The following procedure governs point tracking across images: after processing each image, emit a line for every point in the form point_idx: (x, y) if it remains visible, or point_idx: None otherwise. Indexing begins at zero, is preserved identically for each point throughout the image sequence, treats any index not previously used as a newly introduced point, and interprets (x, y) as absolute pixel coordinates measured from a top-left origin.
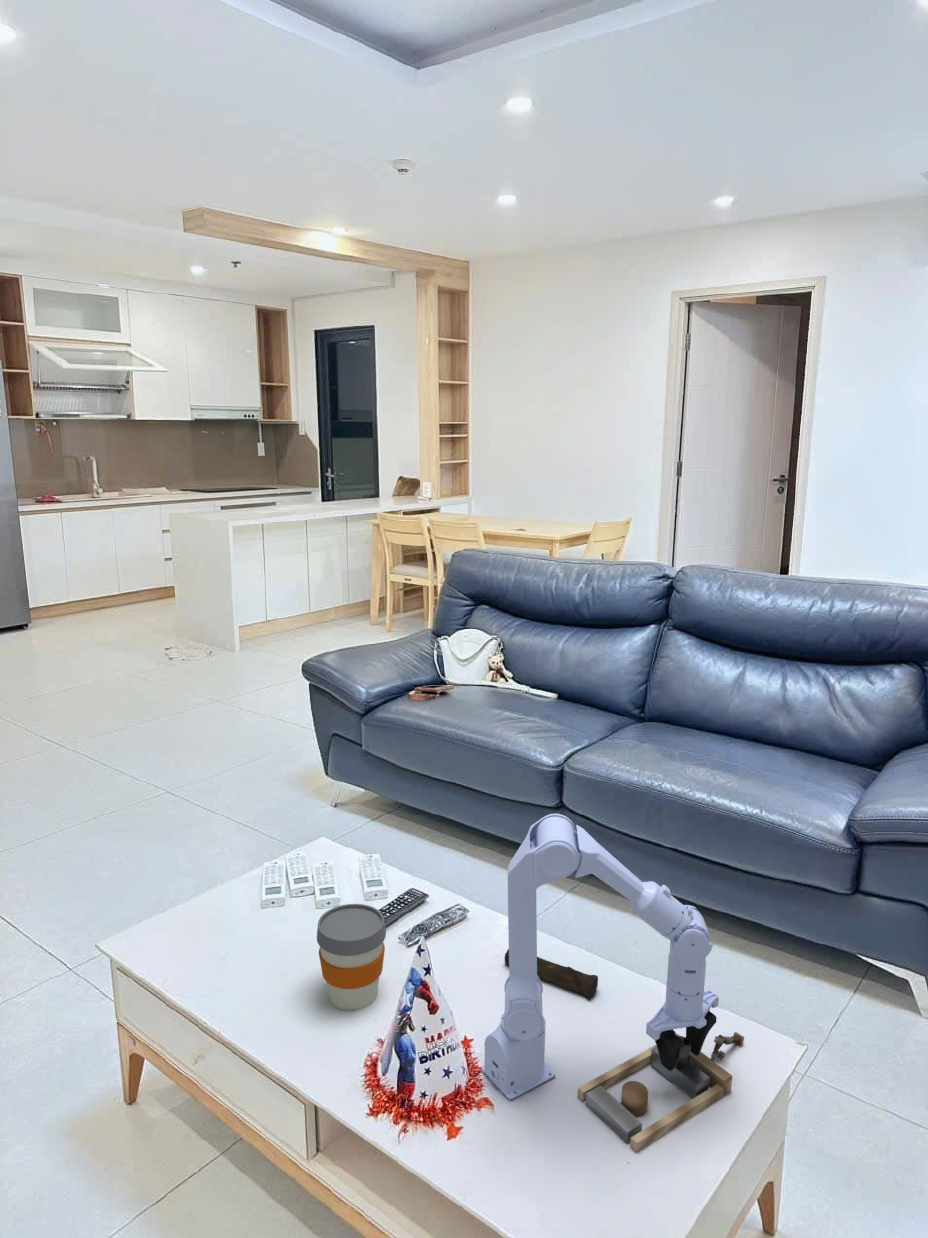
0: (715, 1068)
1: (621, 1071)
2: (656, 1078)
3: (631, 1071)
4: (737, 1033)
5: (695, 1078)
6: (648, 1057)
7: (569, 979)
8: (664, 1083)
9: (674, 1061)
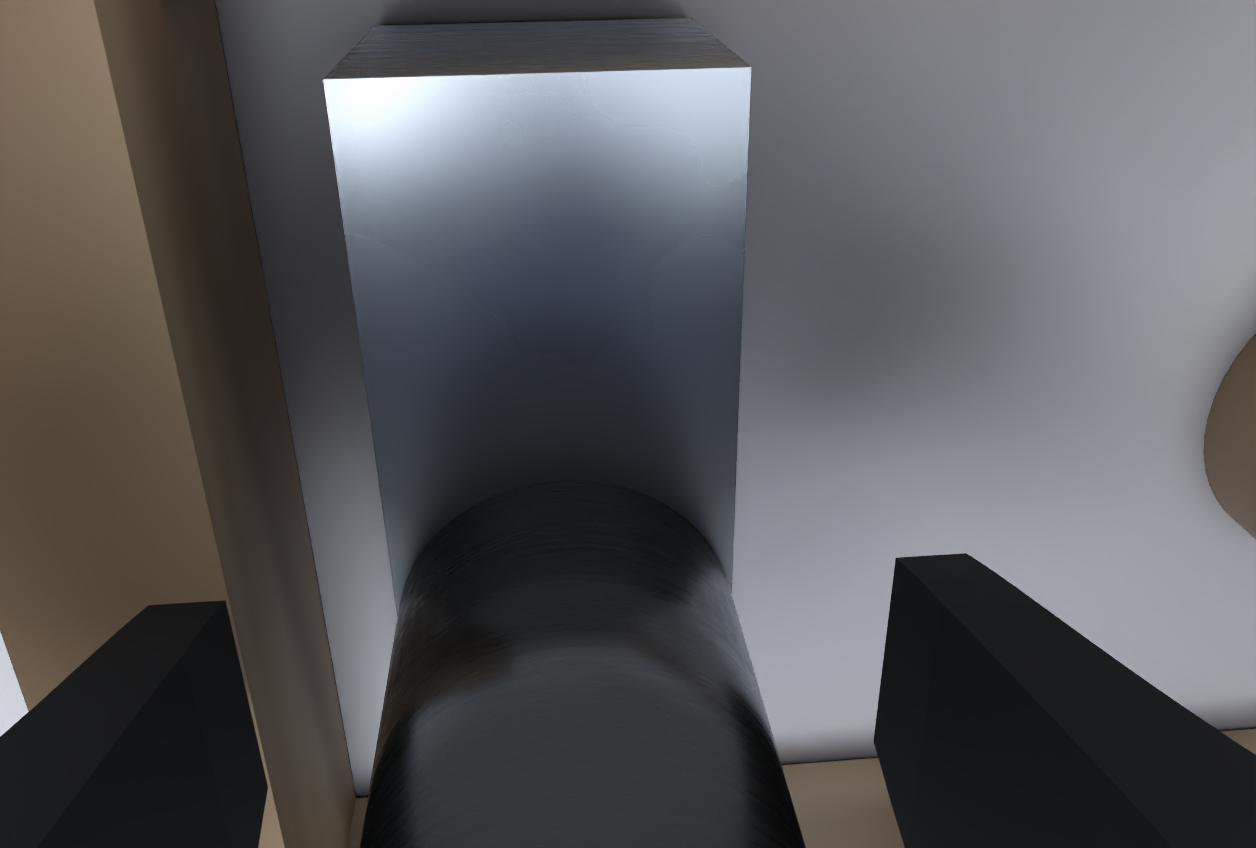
0: (5, 211)
1: None
2: (779, 590)
3: None
4: None
5: (626, 216)
6: None
7: None
8: (763, 493)
9: (1050, 665)
